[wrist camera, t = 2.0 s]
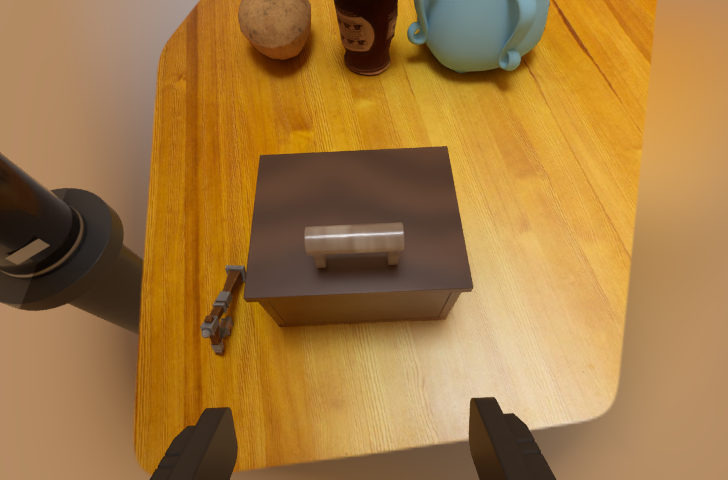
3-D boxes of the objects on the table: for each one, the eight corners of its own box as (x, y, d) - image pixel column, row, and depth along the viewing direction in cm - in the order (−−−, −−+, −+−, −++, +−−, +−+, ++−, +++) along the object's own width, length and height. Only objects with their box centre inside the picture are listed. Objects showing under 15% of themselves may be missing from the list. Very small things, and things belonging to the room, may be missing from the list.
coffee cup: (366, 92, 50) (363, -13, 38) (323, 63, 53) (309, -42, 41) (410, 59, 53) (420, -47, 41) (367, 34, 55) (365, -72, 44)
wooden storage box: (445, 319, 35) (468, 280, 27) (279, 326, 35) (248, 290, 27) (430, 213, 41) (445, 152, 32) (286, 220, 41) (262, 161, 32)
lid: (471, 292, 26) (491, 260, 22) (246, 302, 26) (219, 273, 22) (445, 152, 32) (457, 104, 28) (262, 161, 32) (243, 114, 28)
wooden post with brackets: (205, 362, 33) (190, 329, 30) (235, 295, 39) (225, 263, 37) (225, 364, 33) (212, 331, 30) (252, 296, 39) (243, 264, 37)
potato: (248, 84, 51) (228, 27, 44) (249, 21, 58) (231, -37, 51) (320, 76, 51) (311, 18, 44) (312, 14, 58) (304, -45, 51)
